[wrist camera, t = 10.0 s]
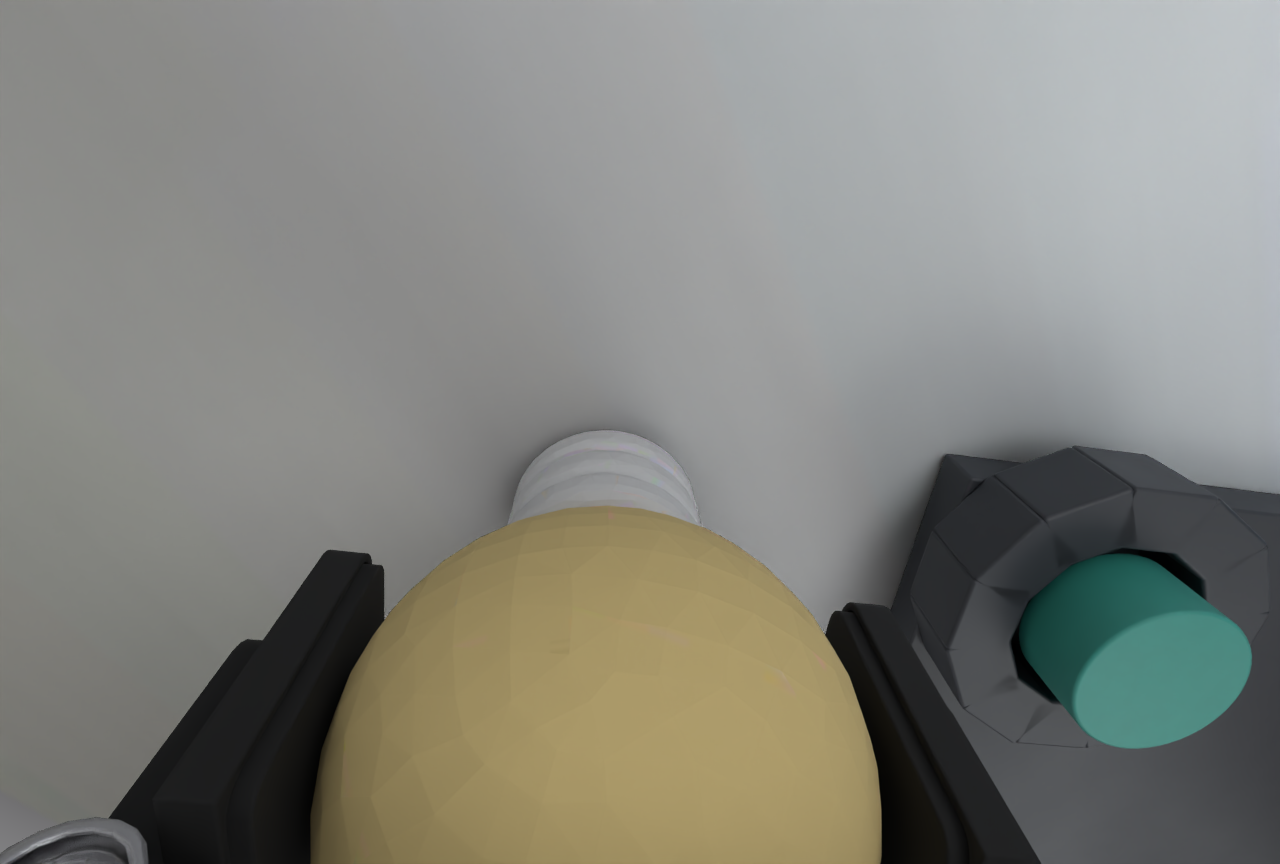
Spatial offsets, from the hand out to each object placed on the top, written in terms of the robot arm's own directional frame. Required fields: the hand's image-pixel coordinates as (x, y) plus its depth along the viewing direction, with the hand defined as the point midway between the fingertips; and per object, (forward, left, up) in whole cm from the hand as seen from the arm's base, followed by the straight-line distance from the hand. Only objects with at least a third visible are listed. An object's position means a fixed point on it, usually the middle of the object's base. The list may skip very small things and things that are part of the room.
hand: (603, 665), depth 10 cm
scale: (+14, -4, -5) cm, 15 cm away
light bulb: (0, 0, -5) cm, 5 cm away
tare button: (+9, 0, -2) cm, 10 cm away
